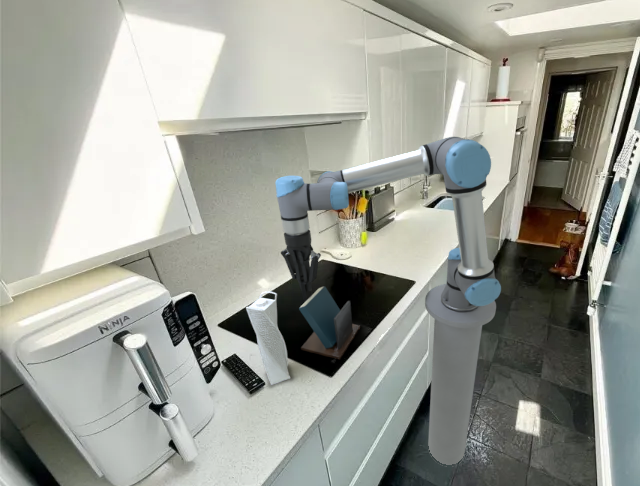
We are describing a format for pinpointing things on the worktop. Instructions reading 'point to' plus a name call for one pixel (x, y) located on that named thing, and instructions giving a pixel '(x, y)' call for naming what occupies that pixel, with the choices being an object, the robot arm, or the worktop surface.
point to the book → (321, 315)
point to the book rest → (343, 335)
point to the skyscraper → (269, 338)
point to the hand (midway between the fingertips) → (307, 298)
